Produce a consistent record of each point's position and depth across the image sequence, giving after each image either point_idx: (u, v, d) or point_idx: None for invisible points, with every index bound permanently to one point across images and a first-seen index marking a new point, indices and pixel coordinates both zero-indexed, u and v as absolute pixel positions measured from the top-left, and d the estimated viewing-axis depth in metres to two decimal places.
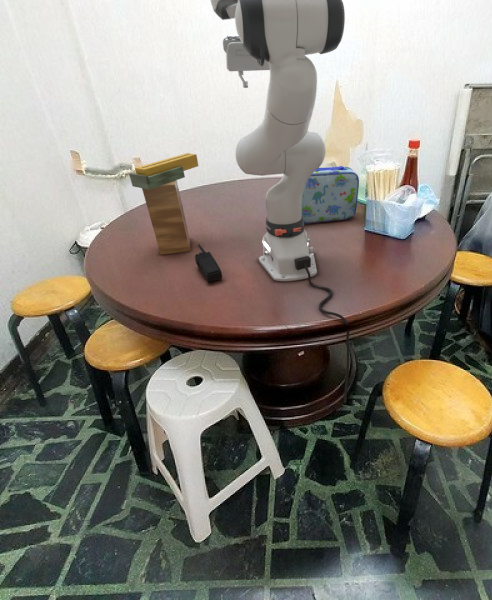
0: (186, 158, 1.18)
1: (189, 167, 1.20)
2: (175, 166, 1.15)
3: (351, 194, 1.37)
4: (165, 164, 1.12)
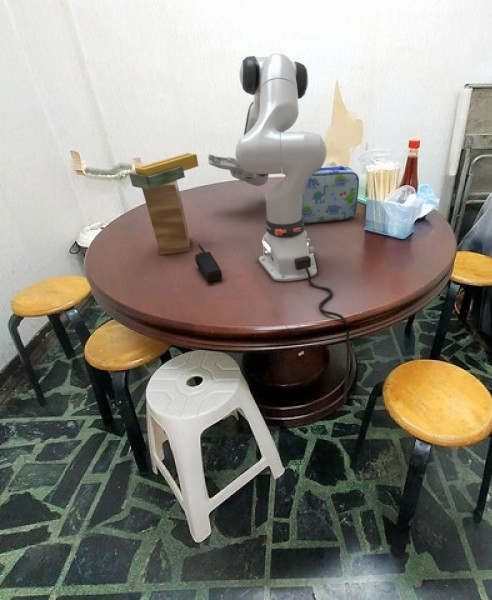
0: (186, 158, 1.18)
1: (189, 167, 1.20)
2: (175, 166, 1.15)
3: (351, 194, 1.37)
4: (165, 164, 1.12)
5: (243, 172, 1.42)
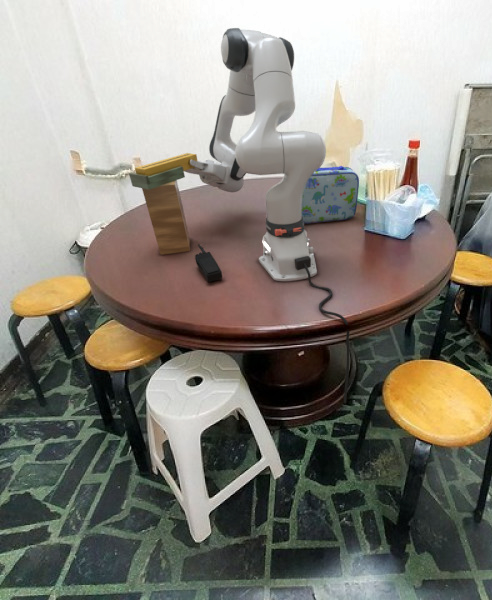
0: (186, 158, 1.18)
1: (189, 167, 1.20)
2: (175, 166, 1.15)
3: (351, 194, 1.37)
4: (165, 164, 1.12)
5: (212, 177, 1.28)
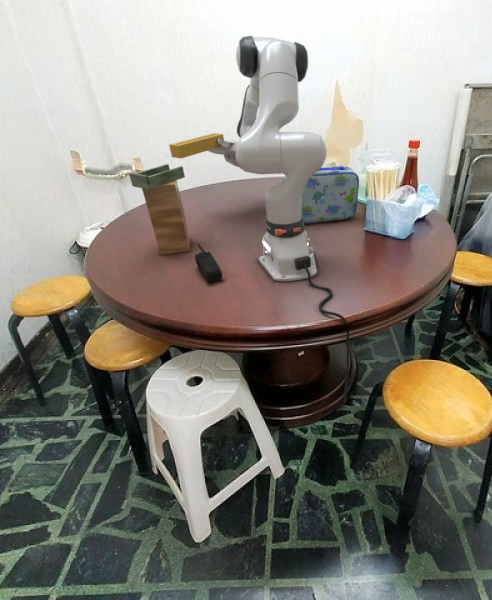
0: (214, 137, 1.26)
1: (216, 146, 1.28)
2: (205, 144, 1.24)
3: (351, 194, 1.37)
4: (196, 142, 1.20)
5: None
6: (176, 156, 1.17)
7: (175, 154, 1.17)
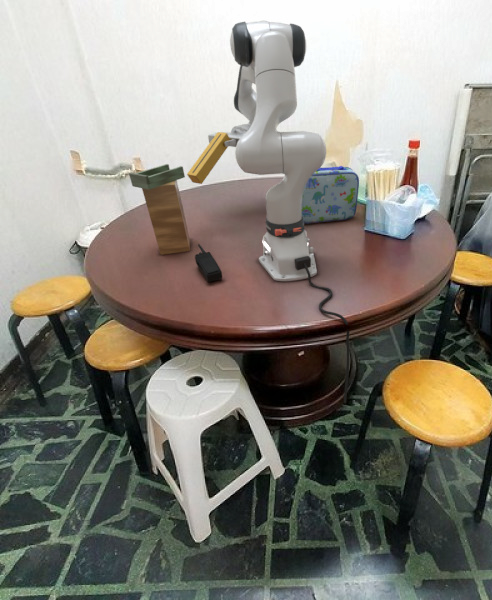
0: (220, 142, 1.30)
1: (225, 148, 1.32)
2: (215, 155, 1.29)
3: (351, 194, 1.37)
4: (208, 160, 1.27)
5: None
6: (196, 182, 1.28)
7: (195, 181, 1.27)
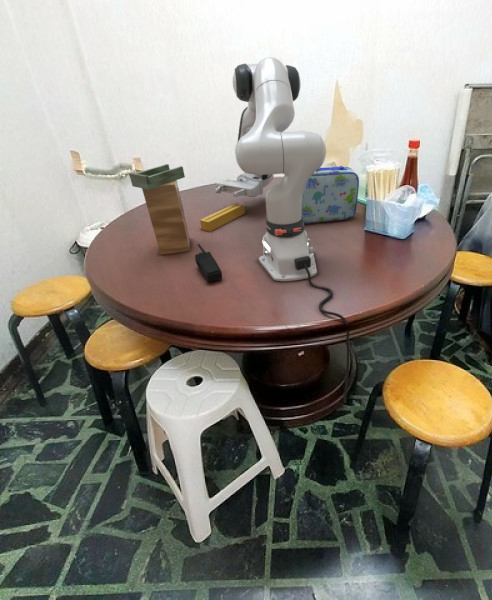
0: (236, 209, 1.48)
1: (238, 215, 1.50)
2: (229, 216, 1.45)
3: (351, 194, 1.37)
4: (222, 216, 1.42)
5: None
6: (205, 229, 1.39)
7: (204, 228, 1.39)
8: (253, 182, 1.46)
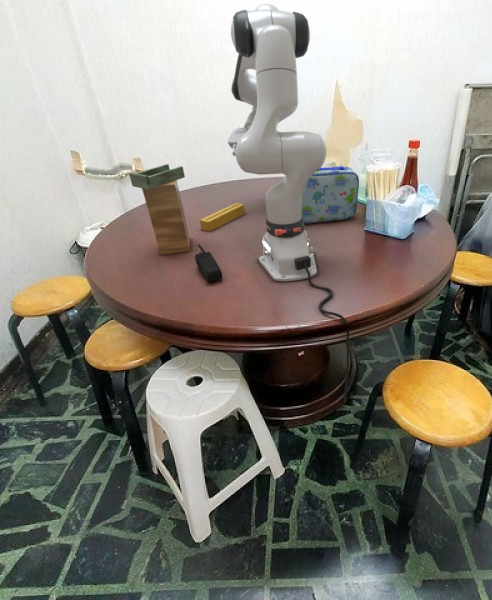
0: (236, 209, 1.48)
1: (238, 215, 1.50)
2: (229, 216, 1.45)
3: (351, 194, 1.37)
4: (222, 216, 1.42)
5: None
6: (205, 229, 1.39)
7: (204, 228, 1.39)
8: None
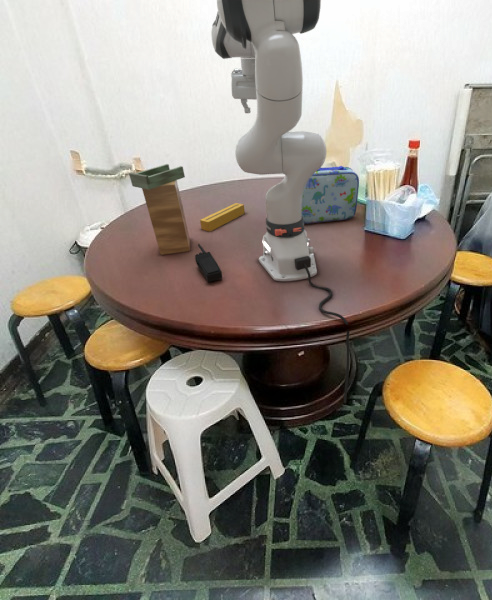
0: (236, 209, 1.48)
1: (238, 215, 1.50)
2: (229, 216, 1.45)
3: (351, 194, 1.37)
4: (222, 216, 1.42)
5: None
6: (205, 229, 1.39)
7: (204, 228, 1.39)
8: None
